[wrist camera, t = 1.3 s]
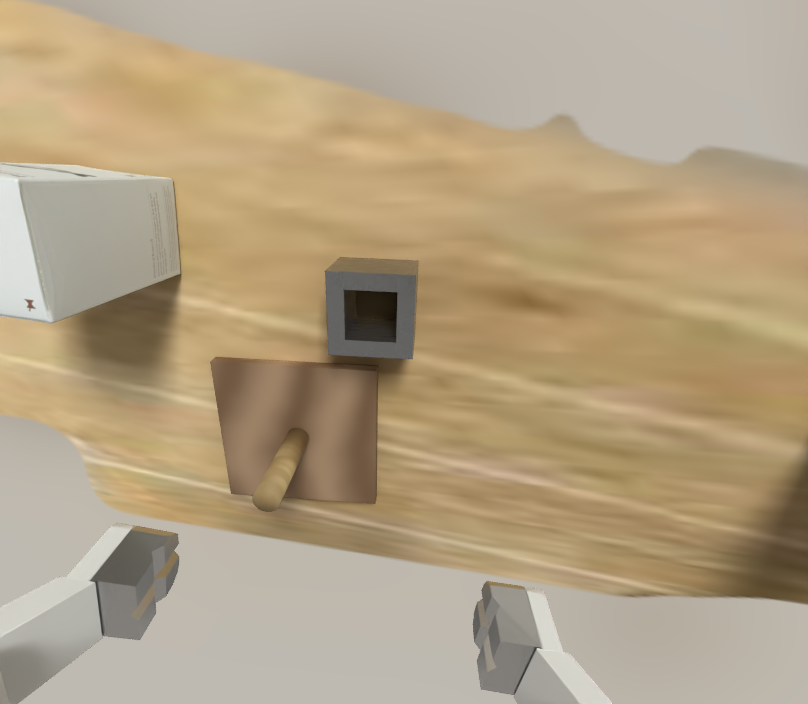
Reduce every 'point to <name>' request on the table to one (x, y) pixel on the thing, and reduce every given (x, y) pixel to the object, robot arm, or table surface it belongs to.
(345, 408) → the post board
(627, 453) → the table surface
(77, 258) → the supplement box
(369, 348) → the collar
